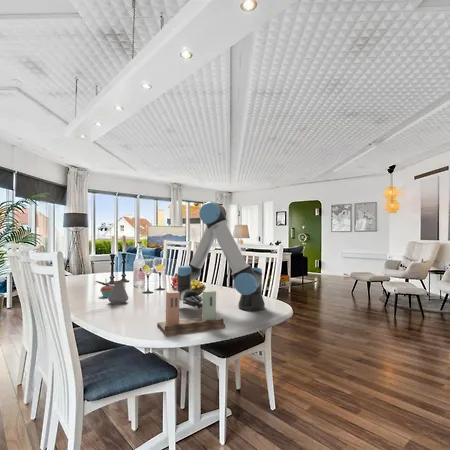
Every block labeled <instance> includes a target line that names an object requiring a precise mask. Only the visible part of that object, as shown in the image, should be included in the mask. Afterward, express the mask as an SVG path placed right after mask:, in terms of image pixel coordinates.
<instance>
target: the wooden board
mask: <svg viewBox="0 0 450 450" xmlns="http://www.w3.org/2000/svg"><path fill="white" fill-rule="evenodd" d="M224 321H225V319H224V318H216V319H214V320H206V321H202V317H192V318H184V319H183V318H182V319H179V324H174V325H167V324H166V321H160V322H159V321H158V322H156V323H157V326H156V327H158V328H159V330H160V331H161V332H162V333H163V334H164V335H165V336H166V337H167V336H175V335H182V334H190V333H197V332H203V331H211V330H218V329H224V328H226V323H224Z"/></svg>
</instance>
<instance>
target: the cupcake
mask: <svg viewBox="0 0 450 450" xmlns="http://www.w3.org/2000/svg"><path fill="white" fill-rule="evenodd" d="M104 279H105V283H106V284H108V282H107V281H108V280H107V278H104ZM112 289H113V288H112V287H110V286H106V285H103V286H102V287H101V288H100V293H101V294H102V297H103V298H109V296H110V294H111V292H112Z"/></svg>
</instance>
